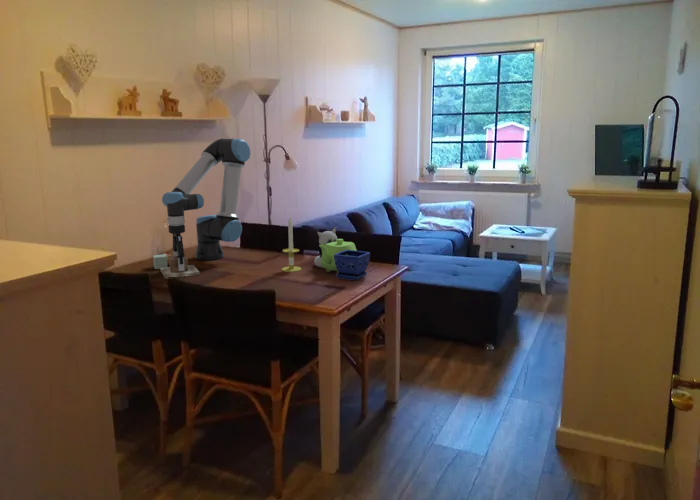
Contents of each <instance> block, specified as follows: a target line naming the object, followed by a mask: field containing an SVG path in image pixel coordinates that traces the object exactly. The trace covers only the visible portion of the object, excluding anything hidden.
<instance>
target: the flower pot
mask: <svg viewBox="0 0 700 500" xmlns="http://www.w3.org/2000/svg"><path fill="white" fill-rule="evenodd" d="M346 254H348V256H346ZM370 259H371V252H369V251H362V250H357V251H354V250H344V251H342V252H339V253H337V254H335V255H334V261H335V265H336V268H337V270H338V272H339V273H337V272H336V273H335V276H336V277H337V279H340V280H341V279H342V280H349V281H358V280H361V279H363V278H364V277H366V275H367V274H368V272H367V271H366V270H367V268H368V266H369V263H370Z"/></svg>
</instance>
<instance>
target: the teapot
mask: <svg viewBox="0 0 700 500" xmlns="http://www.w3.org/2000/svg"><path fill="white" fill-rule="evenodd" d="M318 246H319V248H320V249H321V252H322V257H321V264H322V266H323V268H322V269H326V270H325V272H328V273H330V272H333V271H336V274H337V273H339V272H338V270H337V268H336V265H335V261H334V255H335V254H337V253H339V252H342V251H344V250H354V251H358V249H357V248H356V245H355V243H354V242H352V241H344V239H343V238H337V239H336V242H331V243H327V244H326V245H324V244H323V243H322V244H321V245H320V244H319V245H318ZM346 256H348V254H346Z"/></svg>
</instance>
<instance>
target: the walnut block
mask: <svg viewBox="0 0 700 500" xmlns="http://www.w3.org/2000/svg"><path fill="white" fill-rule="evenodd" d="M168 261H169V267H170V271H171V273H172V272H183V271H179V269H178V258H177V256H174V255H173V256H168ZM188 261H189V260H188V256H187V255H185V256H184V267H185V270H184V271H188V265H189V264H188V263H189V262H188Z"/></svg>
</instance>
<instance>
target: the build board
mask: <svg viewBox="0 0 700 500" xmlns="http://www.w3.org/2000/svg"><path fill="white" fill-rule="evenodd" d="M159 270H160V272H161V274H162V276H163V277H164V279H166V280H167V279H169V278H168V277H175V278H184V276H185V277H191V276H192V277H193V276H200V271H199V269H198V268H197V267H196V266H195V264H188V271H183V272H172V273H171V271H170V266H168V267H166V268H160V269H159Z"/></svg>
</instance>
